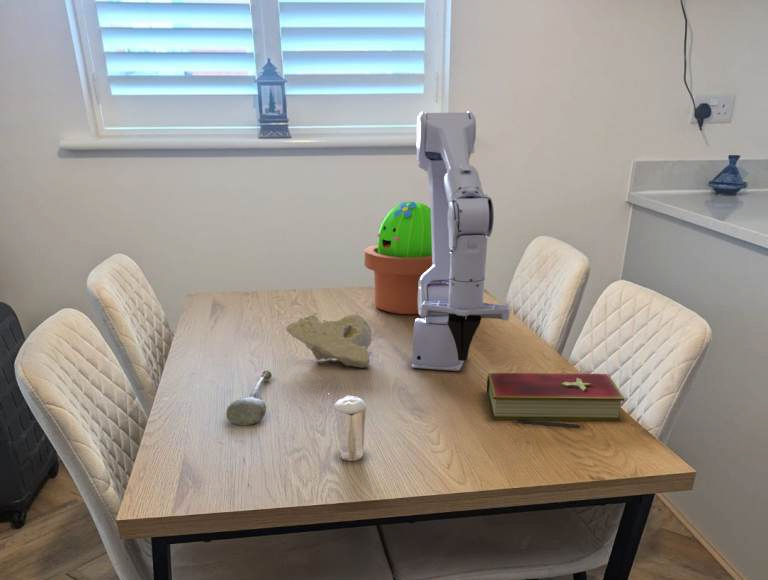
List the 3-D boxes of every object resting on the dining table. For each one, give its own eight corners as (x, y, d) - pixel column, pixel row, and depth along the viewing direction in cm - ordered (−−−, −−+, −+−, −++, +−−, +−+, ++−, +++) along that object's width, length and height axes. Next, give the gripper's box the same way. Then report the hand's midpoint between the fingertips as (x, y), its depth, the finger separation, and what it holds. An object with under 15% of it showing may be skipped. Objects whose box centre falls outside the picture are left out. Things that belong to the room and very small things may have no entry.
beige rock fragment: (387, 368, 146) (352, 310, 149) (389, 351, 139) (352, 290, 142) (320, 401, 144) (286, 341, 147) (319, 385, 136) (283, 322, 140)
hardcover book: (486, 393, 129) (487, 370, 126) (604, 394, 128) (608, 371, 126) (492, 419, 118) (493, 395, 116) (620, 421, 117) (624, 396, 115)
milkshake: (330, 450, 108) (327, 388, 103) (366, 449, 109) (364, 386, 104) (331, 464, 105) (328, 399, 99) (368, 462, 105) (366, 398, 100)
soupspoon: (222, 429, 117) (262, 431, 117) (220, 410, 115) (261, 412, 115) (251, 377, 136) (285, 379, 136) (249, 360, 134) (284, 362, 134)
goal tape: (517, 422, 117) (517, 422, 117) (524, 384, 132) (524, 383, 132) (579, 428, 115) (579, 427, 115) (579, 388, 130) (579, 387, 130)
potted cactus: (413, 291, 194) (415, 190, 181) (472, 306, 179) (477, 198, 166) (349, 304, 182) (345, 198, 169) (405, 323, 167) (406, 208, 154)
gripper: (418, 281, 114) (417, 363, 121) (510, 286, 112) (503, 369, 118) (426, 271, 120) (424, 350, 127) (513, 275, 117) (506, 355, 124)
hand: (462, 358), depth 123 cm, fingers closed
